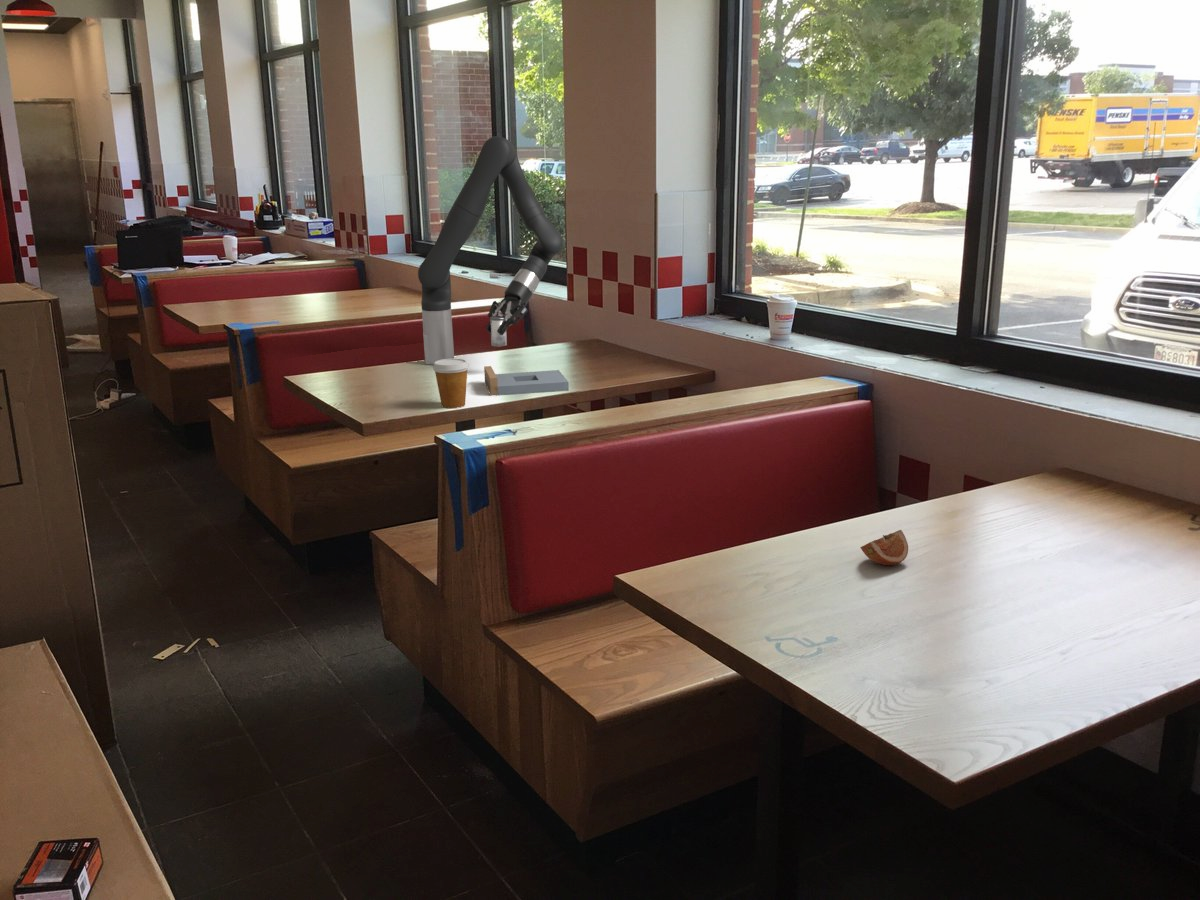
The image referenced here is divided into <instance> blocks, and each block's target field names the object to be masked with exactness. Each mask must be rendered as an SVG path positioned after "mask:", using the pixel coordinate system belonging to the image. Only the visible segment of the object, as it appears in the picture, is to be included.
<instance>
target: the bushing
mask: <svg viewBox="0 0 1200 900" xmlns="http://www.w3.org/2000/svg"><path fill="white" fill-rule="evenodd" d="M489 319H490V320H491V333H490V340H491V341H490V342H491V346H492V347H506V346H507V345H508V344H507V343H508V340H507V339H508V338H507V331H506V332H505V333H504V334H503V335H500V334H499V333H498V332H497V330H498V328H499V327H500V325H501V324H502V322H503V321H504V319H505V316H498V315H497V316H491V317H490V318H489Z"/></svg>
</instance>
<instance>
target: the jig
mask: <svg viewBox="0 0 1200 900" xmlns="http://www.w3.org/2000/svg"><path fill="white" fill-rule="evenodd" d="M483 371H484V372H483V373H484V384H485V386H486V388H487V391H488V390H489V391H488V393H489V392H490V393H489V394H491V395H496V396H509V395H520V394H521V395H523V394H525V395H526V394H535V393H536V394H537V393H538V394H539V393H552V392H564V391H569V390H570V389H569V387H570V386H569V381H568V379H567V378H566V377H565V376H564V374H562V372H561V371H560V369H557V370H556V369H555V370H540V371H539V370H538V371H537V370H536V371H524V372H510V373H509V372H507V373H495V371H494V369H493V367H492V365H489V366H485V365H484V366H483ZM491 395H490V396H491Z"/></svg>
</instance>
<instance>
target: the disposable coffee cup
mask: <svg viewBox="0 0 1200 900" xmlns="http://www.w3.org/2000/svg"><path fill="white" fill-rule="evenodd" d="M469 367H470V364H468V360H467V359H464V358H454V359H442V360H438V361H435V363H434V365H433V366H432V369H433V371H434V373H435V379H436V383H437V389H438V394H439V399H440V404H441V407H442V406H443V407H442V408H444V407H449V408H448V409H458V408H457V407H460V408H462V407H461V406H463V407H465V406H464V405H466V399H467V398H466V396H467V385H468V384H467V382H468V370H469Z"/></svg>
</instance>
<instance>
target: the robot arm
mask: <svg viewBox="0 0 1200 900" xmlns="http://www.w3.org/2000/svg"><path fill="white" fill-rule="evenodd" d="M499 175H500V176H501V177H502V179H503V181H504V182H505V184H506V187H507V188H508V189H509V192H510V195H511V198H512V201H513V203H514V207H515V209H516V211H517V213H518V215H519V216H520V218H521V220H522V222H523V224H524V226H525V227H526V229H527V230H528V231H529V232H533V233H534V234H535V235H536V237H537V238H538V239H537V240H536V242H535V243H534V245H533V247H532V249H531V250H530V253H529V255H528V257H527V259H525V261H524V262H523V264H522V265H521V268H519V270H518V272H516V274H515V275H514V276H513V278H512V279H511V281H510V282H509V284H508V286H507V288H506V289H505V291H504V297H503V299H501V300H500V302H499V301H498V302H497V301H496V300H494V301H493V302H492V304H491V306H490V307H489V311H488V314H487V317H488V318H489V319H490V317H491V316H505V319H504V321H503V322H502V324H501V325H500V327H499V328H498V330H497V332H498V333H499V334H500V335H503V334H504V333H505V332H506V333H507V330H508V329H509V327H510V326H512V325H514V326H516V325H517V324H518V323H519V321H521V319H522V318H523V317H524V316H526V314H527V313H528V309H527V308H526V306H527V305H528V302H529V301H530V299H531V298H532V296H533V295H534V293H535V292H536V290H537V288H538V286H539V283H541V281H542V279H543V277H544V276H545V274H546V272H547V270H548V265H549V264H550V262H551V261H552V259H553V258H554V257H555V256H556V255H558V254H559V253H561V251H562V250H563V248H564V241H563V237H562V235H561V233H560V232H559V231H558V229H557V228H556V227H555V225H554V224H553V223H552V222H551V220H550V219H548V217H547V215H546V213H545V211H544V209H543V207H542V206H541V204H540V201H539V200H538V198H537V197H536V195H535V193H534V191H533V190H532V188H531V186H530V184H529V182H528V179H527V178H526V176H525V174H524V170H523V169H522V167H521V163H520V160H519V157H518V154H517V151H516V149H515V146H514V144H513V143H512V141H510V140H509V139H508V138H504V137H502V136H499V135H498V136H497V135H496V136H491V137H489V138H488V139H486V141H485V142H484V143H483V145H482V147H481V149H480V152H479V154H478V156H477V159H476V162H475V165H474V167H473V169H472V171H471V173H470V175H469V177H468V178H467V180H466V181H465V183H464V185H463V186H462V188H461V190H460V192H459V194H458V195H457V197H456V198H455V200H454V202H453V204H452V206H451V207H450V210H449V212H448V213H447V216H446V218H445V220H444V222H443V223H442V227H441V229H440V231H439V234H438V237H437V239H436V241H435V243H434V245H433V247H432V248H431V250H430V251H429V253H428V254H427V255H426V257H425V258H424V260H423V261H422V263H420V265H419V267H418V270H417V278H418V280H419V283H420V284H421V302H420V303H421V305H420V306H421V315H422V316H421V317H422V319H421V320H422V330H423V331H422V334H423V335H422V336H423V349H424V361H425V362H426V363H425V362H424V363H425V365H433V366H434V363H435V361H438V360H442V359H455V352H454V351H455V350H454V349H455V348H454V347H455V346H454V335H453V333H454V332H453V319H452V304H451V303H452V283H451V268H452V266H453V263H454V261H455V258H456V257H457V255H458V253H459V252H460V251H461V248H463V246H464V245H465V243H466V242H467V241H468V240H469V238H470V237H471V236H472V234H473V232H474V231H475V229H476V227H477V225H478V224H479V222H480V220H481V218H482V216H483V214H484V212H485V209H486V206H487V203H488V200H489V196H490V192H491V189H492V187H493V185H494V183H495V181H496V179H497V177H498V176H499ZM516 317H517V318H516ZM485 331H486V332H487V333H488V334H491V320H490V321H489V322H488V323H487V325H486V327H485Z"/></svg>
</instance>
